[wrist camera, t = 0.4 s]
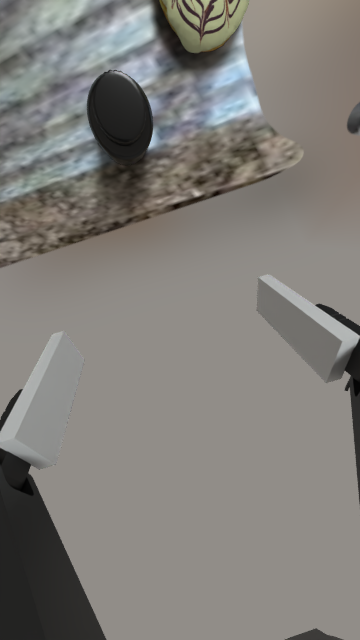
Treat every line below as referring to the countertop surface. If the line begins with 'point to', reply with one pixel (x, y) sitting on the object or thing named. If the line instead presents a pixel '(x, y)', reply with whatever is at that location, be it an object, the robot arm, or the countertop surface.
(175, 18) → the decorated donut
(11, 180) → the countertop surface
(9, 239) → the countertop surface
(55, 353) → the robot arm
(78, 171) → the countertop surface
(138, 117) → the supplement bottle
